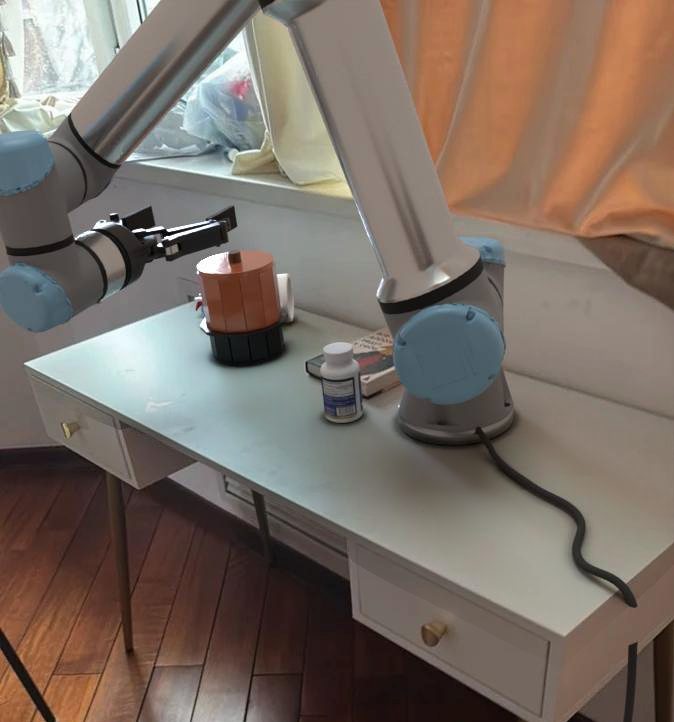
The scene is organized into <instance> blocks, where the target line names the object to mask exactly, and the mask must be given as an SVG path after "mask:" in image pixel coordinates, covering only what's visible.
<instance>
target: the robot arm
mask: <svg viewBox="0 0 674 722" xmlns="http://www.w3.org/2000/svg"><path fill="white" fill-rule="evenodd" d="M260 11H261V12H262V14H263V15H264V16H267V17H268V18H270V19H273V20H275V21H277V22H279V23H281V24H282V25H283V26H285V28H286V29H287V31H288V32H287V33H288V34H289V37H290V39H291V42H292V45H293V47H294V49H295V53H296V55H297V57H298V60H299V62H300V65H301V67H302V70H303V72H304V75H305V78H306V80H307V82H308V85H309V88H310V91H311V93H312V96H313V99H314V101H315V103H316V106H317V109H318V111H319V114H320V116H321V119H322V122H323V125H324V127H325V129H326V132H327V135H328V137H329V139H330V141H331V144H332V147H333V150H334V152H335V155H336V157H337V160H338V163H339V165H340V168H341V171H342V173H343V175H344V179H345V181H346V183H347V186H348V189H349V190H350V193H351V196H352V198H353V201H354V205H355V206H356V209H357V212H358V214H359V216H360V219H361V221H362V224H363V227H364V229H365V232H366V234H367V237H368V239H369V240H368V241H369V242H370V245H371V247H372V250H373V252H374V255H375V257H376V260H377V263H378V265H379V268H380V270H381V273H382V278H381V280H380V283H379V285H378V287H377V290H376V292H375V296H376V300H377V303H378V304H379V307H380V309H381V312H382V315H383V317H384V320H385V323H386V325H387V328H388V330H389V332H390V333H389V334H390V335H391V337H392V341H393V343H392V348H391V349H392V350H391V351H392V355H391V358H392V363H393V366H394V371H395V373H396V375H397V377H398V378H397V379H398V380H399V381H400V383H401V385H402V386H403V391H402V395H401V399H400V402H399V404H398V408H397V409H398V424H399V427H400V429H401V430H402V431H403V432H404V433H405V434H407V435H408V436H410V437H412V438H414V439H417V440H418V441H422V442H426V443H430V444H436V445H446V446H447V445H448V446H449V445H450V446H454V445H468V444H469V445H470V444H475V443H476V444H477V443H479V442H482V444H483V445H484V447H485V448H486V451H487V452H488V454H489V456H490V457H491V458H492V460H493V461H494V462H495V463H496V464H497V466H498V467H499V468H500V469H502V471H504V472H505V474H507V475H509V476H510V477H512V478H513V479H514V480H516V481H517V482H519V483H520V484H521V485H523V486H524V487H526V488H527V489H529V490H530V491H532V492H533V493H535V494H537V495H538V496H541V497H542V498H544V499H547V500H549V501H550V502H552V503H555V504H556V505H559V506H560V507H562V508H563V509H565V510H566V511H568V513H570V514H571V515H572V516H573V517H574V519H575V521H576V524H577V525H576V526H577V529H576V532H575V535H574V538H573V541H572V546H571V554H572V557H573V559H574V561H575V563H576V564H577V566H578V567H579V568H580V569H581V570H583V571H584V572H586V573H588V574H590V575H592V576H594V577H597V578H600V579H602V580H604V581H606V582H608V583H610V584H611V585H613V586H614V587H615V588H617V590H618V591H620V592H621V594H622V596H623V598H624V600H625V602H626V604H627V605H628V607H630V608H633V609H636V608H637V607H638V606H639V605H638V603H637V599H636V597H635V595H634V593H633V591H632V590H631V589H630V587H629V585H628V584H627V583H626V582H625V581H623V580H622V579H621V578H620V577H619V576H618V575H616V574H615V573H611V572H610V571H608V570H605V569H602V568H600V567H597V566H595V565H592V564H591V563H590V562H588V561H587V560H586V559H584V557H583V555H582V551H581V546H582V542H583V538H584V535H585V532H586V520H585V517H584V515H583V514H582V512H581V511H580V510H579V508H577V507H576V506H575V505H574V504H573V503H572V502H570V501H569V500H567V499H565V498H563V497H561V496H559V495H557V494H555V493H553V492H551V491H550V490H547V489H545V488H543V487H541V486H539V484H536V483H535V482H534V481H532V480H530V479H529V478H527V477H526V476H524V475H523V474H521V473H520V472H518V471H517V470H515V469H514V468H513V467H512V466H510V465H509V464H508V463H507V462H505V460H504V459H503V458H502V457H501V456H500V455H499V454H498V452H497V451H496V449H495V447H494V445H493V443H492V441H490V439H494V438H495V437H497V436H500V435H501V434H503V433H504V432H505V431H507V430H508V429H509V428H510V427H511V426H512V424H513V421H514V408H515V407H514V406H515V403H514V400H513V398H512V394H511V391H510V387H509V384H508V381H507V378H506V375H505V371H504V368H503V365H502V364H503V361H504V358H505V354H506V349H507V343H506V338H505V326H504V325H505V324H504V291H505V290H504V289H505V288H504V287H505V268H506V267H507V262H506V260H505V247H504V245H503V243H502V242H500V241H499V240H497V239H495V238H491V237H490V238H489V237H480V236H479V237H478V236H459V235H458V234H459V233H458V232H457V227H456V225H455V223H454V220H453V217H452V213H451V210H450V207H449V205H448V202H447V198H446V195H445V192H444V189H443V187H442V183H441V180H440V177H439V174H438V171H437V168H436V165H435V162H434V160H433V157H432V153H431V151H430V147H429V144H428V141H427V138H426V135H425V133H424V130H423V127H422V124H421V121H420V117H419V115H418V112H417V108H416V106H415V103H414V99H413V97H412V93H411V91H410V88H409V87H410V86H409V84H408V81H407V79H406V75H405V72H404V70H403V66H402V64H401V60H400V57H399V54H398V51H397V49H396V46H395V42H394V40H393V36H392V33H391V30H390V28H389V25H388V21H387V18H386V16H385V12H384V10H383V7H382V3H381V0H159V2H157V4H156V5H155V7H153V9H152V10H151V11H150V12H149V14H148V15H147V16H146V17H145V19H144V20H143V21H142V23H141V24H139V26H138V27H137V28H136V30H135V31H134V33H132V35H131V36H130V37H129V39H128V40H127V41H126V42H125V44H124V45H123V46H122V48H121V49H119V51H118V52H117V54H116V55H115V56H114V57H113V59H112V60H111V61H110V62H109V63H108V65H107V66H106V67H105V69H104V70H103V71H102V72H101V73H100V75H99V76H98V77H97V78H96V80H95V81H94V82H93V83H92V84H91V86H90V87H89V88H88V89H87V91H86V92H85V93H84V94H83V96H82V97H81V98H80V99H79V100H78V102H77V103H76V105H75V106H74V107H73V108H72V109H71V110H70V113H68V115H67V116H66V117H65V118H64V119H63V121H62V122H61V123H60V124H59V126H58V127H57V128H56V129H55V130H54V132H53V133H52V134H51V135H50V136H49V137H48V138H46V136H45V135H44V134H43V132H41V131H39V130H36V129H23V130H13V131H7V132H2V133H0V236H1V238H2V242H3V245H4V248H5V250H6V251H5V253H6V257H7V261H8V262H9V265H8V266H7V267H6V269H4V270H3V271H2V272H1V273H0V307H1V310H3V312H4V314H5V315H6V316H7V317H8V319H9V320H10V321H12V323H13V324H14V325H16V326H17V327H18V328H20V329H22V330H24V331H26V332H30V333H34V334H39V333H44V332H47V331H49V330H51V329H54V328H56V327H58V326H60V325H64V324H67V323H69V322H70V320H72V319H74V317H76V316H77V315H79V314H81V313H83V312H84V311H86V310H87V309H89V308H91V307H93V306H98V307H99V306H101V305H102V301H103V300H105V299H107V298H109V297H110V296H112V295H113V294H115V293H117V292H119V291H122V290H123V289H125V288H127V287H128V286H131V285H132V284H134V283H135V282H137V281H138V280H139V279H140V278H141V276H142V275H143V272H144V269H145V267H146V264H150V263H152V262H154V260H158V259H163V258H165V259H164V260H165V261H166V262H170V263H171V262H173V261H175V260H178V259H180V258H182V257H185V256H188V255H191V254H194V253H198V252H201V251H204V250H208V249H211V248H214V247H216V248H219V247H221V246H222V245H223V244H224V245H225V244H227V243H229V242H230V239H229V232H231V231H233V230H234V229H236V228H238V221H237V214H236V207H235V205H228V206H227V207H224V208H222V209H221V210H219V211H217V212H214V213H213V214H211V215H210V216H208V217H206V218H205V221H201V222H196V223H191V224H187V225H182V226H177V227H173V228H169V229H166V228H165V227H163V226H157V227H156V222H155V221H156V220H155V216H154V211H153V206H152V205H145V206H143V207H141V208H139V209H137V210H135V211H132V212H130V213H128V214H126V215H124V216H122V217H120V216H119V213H110V214H109V215H108V216H109V220H110V222H107V220H104V219H100V220H98V221H97V222H96V223H95V225H94V226H93V227H92V229H90V230H87V231H84V232H81V233H80V234H77V235H76V236H74V232H73V228H72V225H71V222H70V217H69V214H70V213H71V212H73V211H75V210H77V209H78V208H79V207H81V206H82V205H84V204H85V203H87V202H89V201H91V200H93V199H96V198H97V197H99V196H101V194H102V193H103V192H104V191H106V190H107V189H108V187H109V186H110V185H111V184H112V182H113V180H114V178H115V175H116V173H117V172H118V171H119V170H120V168H121V166H123V164H124V163H125V162H126V161H127V160H128V159H129V158H130V156H131V155H132V154H133V153H134V152H135V151H136V150H137V149H138V148H139V146H140V145H141V144H142V143H143V142H144V141H145V140H146V139H147V137H148V136H149V135H150V134H151V133H152V132H153V131H154V130H155V128H156V127H157V126H159V124H160V123H161V122H162V120H163V119H164V118H166V116H167V115H168V114H169V112H171V111H172V109H173V108H174V107H175V106H176V105H177V104H178V103H179V101H180V100H181V99H182V98H183V97H184V96H185V95H186V94H187V93H188V92H189V90H190V89H191V88H192V87H193V86H194V85H195V84H196V83H197V81H198V80H199V79H200V78H201V77H202V76H203V74H205V72H206V71H207V70H208V69H209V68H210V67H211V66H212V65H213V64H214V62H215V61H216V60H217V59H218V58H219V57H220V55H222V54H223V52H224V51H225V50H226V48H228V47H229V46H230V44H231V43H233V41H234V40H235V39H236V38H237V36H238V35H240V33H241V32H242V31H243V30H244V28H245V27H247V26H248V24H249V23H250V22H251V21H252V20H253V19H254V17H255V16H256V15H257V14H258V13H259V12H260ZM156 235H159V237H160V241H161V243H159V242H158V238H157V236H156ZM638 645H639V642H638V641H636V642H633V643H631V644H628V645H627V646H628V647H627V672H626V673H627V675H626V689H625V690H626V691H625V701H624V712H623V720H622V722H633V716H634V708H635V698H636V684H637V667H638V647H639V646H638Z"/></svg>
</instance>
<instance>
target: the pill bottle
mask: <svg viewBox="0 0 674 722" xmlns="http://www.w3.org/2000/svg"><path fill="white" fill-rule="evenodd" d="M322 351H323V360H324V362H323V363H322V365H321V366H320V372H319V373H320V383H321V391H322V400H323V409H324V416H325V418H326V419H327V420H328V421H330V422H332V423H338V424H339V423H340V424H342V423H344V424H345V423H346V424H347V423H351V422H354V421H357V420H358V419H360V418H361V417H362V416H363V415H364V414H363V413H364V403H363V388H362V377H361V368H360V367H361V366H360V364H359V362H358V361H357V360H355V359H354V354H355V353H354V346H353V344H352V343H349V342H344V341H340V342H339V341H337V342H332V343H329V344H326V345H325V346H324V347H323V349H322Z"/></svg>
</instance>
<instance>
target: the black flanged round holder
mask: <svg viewBox="0 0 674 722" xmlns="http://www.w3.org/2000/svg"><path fill="white" fill-rule="evenodd" d="M281 312H282V314H281V317H280V319H279V320H278V321H277V322H275V323H273V324H271V325H270V326H268V327H265V328H261V329H257V330H253V331H249V332H236V333H228V332H227V333H225V332H220V331H214V330H211V329H210V328H209V327H208V326H207V325H206V321H205V317H204V318H203V319H202V320H201V323H200V324H199V329H200V330H201V332H203V333H204V334H205V335H206V336H208V337H209V341H210V347H211V352H212V358H213V360H214V361H215V362H217V364H220V365H224V366H229V367H249V366H256V365H261V364H264V363H268V362H270V361H273V360H275V359H277V358H279V357H280V356H282V354H283V353H284V352H285V350H286V346H285V339H284V332H283V326H284V325H286V323H287V322H286V321H287V318H288V313H287V312H286V311H285V310H283V309H282V308H281Z"/></svg>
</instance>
